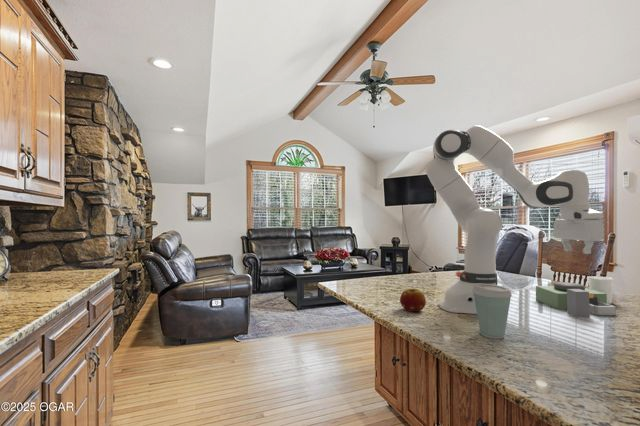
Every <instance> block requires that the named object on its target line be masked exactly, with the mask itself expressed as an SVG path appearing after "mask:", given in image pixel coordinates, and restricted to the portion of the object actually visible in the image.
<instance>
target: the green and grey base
mask: <svg viewBox="0 0 640 426" xmlns="http://www.w3.org/2000/svg"><path fill="white" fill-rule="evenodd" d="M567 289H581V290H585V291H588V292H590V293H593V296H594V298H589V309H590V314H593V315H595V316H617V306H615V305H612V304H607V294H605V293H602V292H598V291H595V290H591V289H589V287H586V286H585V285H584V284H580V283H575V282H563V281H560V282H559V281H557V282H556V281H555V282H554V283H553V285H535V300H536V301H538V302H540V303H543V304H545V305H547V306H550V307H552V308H554V309H557V310H567Z"/></svg>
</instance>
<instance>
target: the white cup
mask: <svg viewBox="0 0 640 426" xmlns="http://www.w3.org/2000/svg"><path fill="white" fill-rule="evenodd" d="M587 279H588V289H591V290H595V291H598V292H602V293H605V294H607V304H609V305H611V304H612V303H613V295H614V294H613V293H614V279H613V278H612V277H606V276H597V275H593V276H592V275H591V276H588V277H587Z"/></svg>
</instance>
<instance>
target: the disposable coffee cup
mask: <svg viewBox="0 0 640 426" xmlns="http://www.w3.org/2000/svg"><path fill="white" fill-rule="evenodd" d="M473 293H474V299H475V305H476V311H477V314H476V315H477V322H478V323H477V324H478V328H479V332H480V335H482V337H486V338H488V339H496V340H499V339H503V338H504V336H505V335H506V331H507V330H506V329H507V324H508V323H507V322H508V316H509V311H510V310H509V309H510V304H511V297H512V292H511V290H510V289H509V288H507V287H505V286H503V285H502V286H501V285H499V284H497V285H492V284H484V283H476V284H475V287H473Z"/></svg>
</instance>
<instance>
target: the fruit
mask: <svg viewBox="0 0 640 426" xmlns="http://www.w3.org/2000/svg"><path fill="white" fill-rule="evenodd" d="M399 303H400V306H401V307H402V308H403V309H405V310H406V311H408V312H412V313H417V312H420V311H422V310H423V309H424V308H425V306H426V304H427V299H426V296H425V294H424V292H423V291H421V290H420V289H418V288H408V289H405V290H403V291H402V293H400V296H399Z"/></svg>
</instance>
